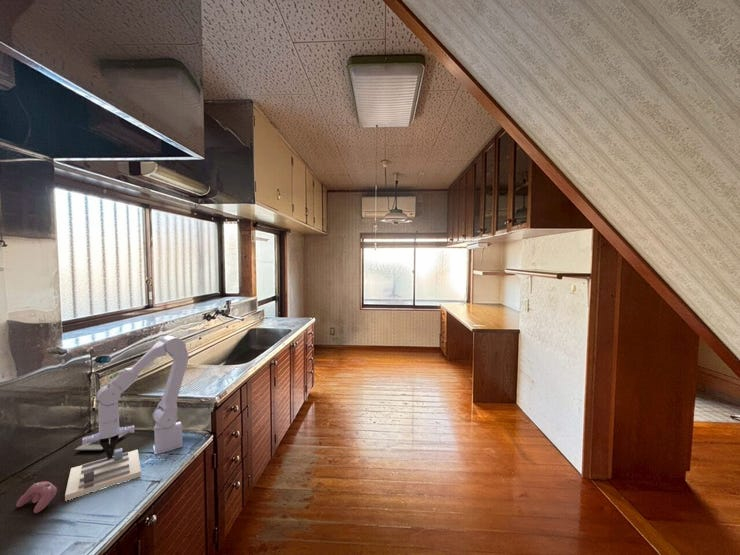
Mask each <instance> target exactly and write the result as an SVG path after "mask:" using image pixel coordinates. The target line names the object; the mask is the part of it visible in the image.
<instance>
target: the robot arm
mask: <svg viewBox="0 0 740 555" xmlns="http://www.w3.org/2000/svg"><path fill="white" fill-rule="evenodd" d="M186 346H187V344H186V342H185V341H184V340H182V339H181V338H180V337H176V336H173V335H169V334H167V335H164V336H163V337H161V338H160V340H158V341H156V342H155V343H154V344H153V346H152V347H151V348H150V349H149V350H148V351H147V352H146V353H145V354H143V356H142V357H140V358H139V360H137V361H136V362H135V364H133V365H132V367H125V368H124V369H123V370H119V371H118V372H117V373H118V374H117V375H116V376H115V377H114V378H113V379H112V380H110V382H109V381H108V382H107V383H106V384H105V386H102V387H100V388H99V389H98V391H97V393H96V395H95V397H96V399H97V400H98V410H97V411H98V412H97V414H98V432H97V433H94V434H91V435H88V436H84V437H82V441H81V443H82V445H86V444H87V443H91V442H95V441H99V440H100V445H101V446H102V447H103V450H104V452H105V454H106V458H108V459H111V458H112V456H114V450H116V449H115V448H116V446H117V444H118V442H119V440H120V439H119V435H123V434H126V435H127V434H133V433H135V425H129V426H122V427H120V407H119V406H120V405H119V400H120V399H121V396H122V395H121V394H122V393H124V392H126V390H127V389H128V388H129V387H130V386H131V385H132V384H134V383H135V382H136V381H137V380H138V379H139V375H140V373H141V372H142V371H143V370H144V369H145V368H146V367H148V366H149V365H150V364H151V363H153V361H155V360H157V358H161V357H165V356H168V355H169V357H171V359H172V360H173V361H172V363H171V368H170V370H169V371H170V372H169V374H168V377H167V381H166V385H165V388H164V391H163V395H162V399H161V400H160V401H159V402H158V404H157V407H156V408H155V409H154V411H153V412H152V419H153V420H154V421H155V425H154V430H153V432H154V444H153V446H152V449H153V453H154V455H160V454H163V453H165V452H169V451H172V450H177V449H179V448H182V447H184V445H183V444H184V443H183V439H184V437H183V425H182V422H181V421H177V420H178V415H177V414H178V397H179V394H180V392H181V387H182V383H183V380H184V376H185V373H186V370H187V367H188V366H187V365H188V362H189V360H190V358H189V352H188V350H187V347H186ZM109 438H110V445H109Z"/></svg>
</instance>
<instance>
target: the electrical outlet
mask: <svg viewBox="0 0 740 555" xmlns="http://www.w3.org/2000/svg"><path fill="white" fill-rule="evenodd" d="M126 435H127V434H123V435H119V440H120V439H121V438H124V437H125V436H126ZM109 446H110V438H109ZM103 450H104V449H103V447H102V446H101V445H100V440H99V441H95V442H91V443H87V444H86V445H80V446H77V447H76V448H74V451H77V452H78V451H79V452H81V451H83V452H85V451H87V452H89V451H91V452H93V451H99V452H101V451H103Z"/></svg>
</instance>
